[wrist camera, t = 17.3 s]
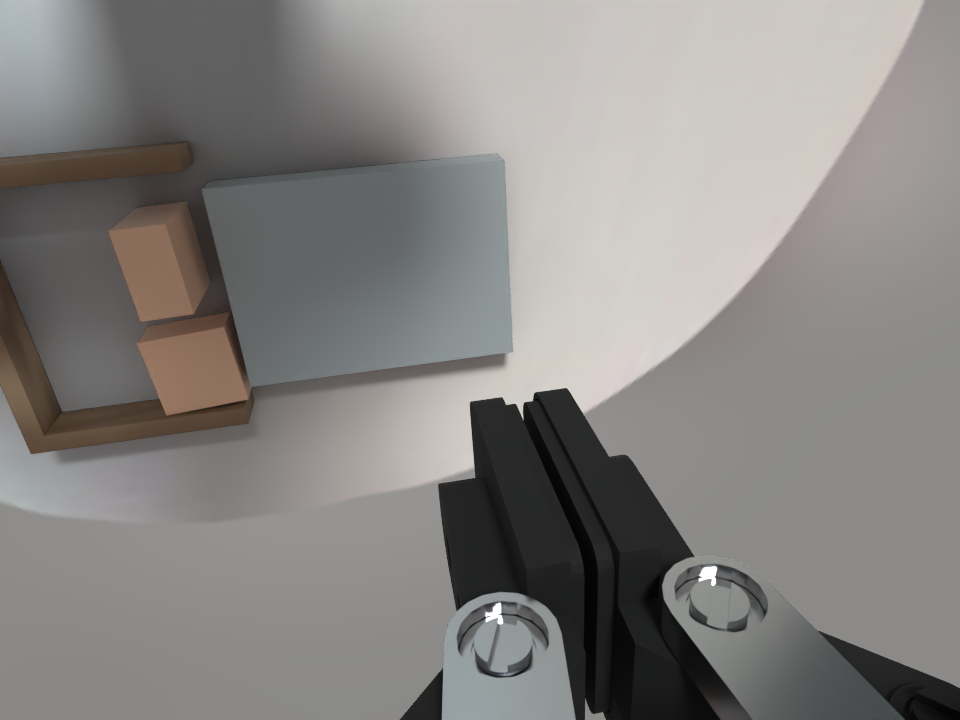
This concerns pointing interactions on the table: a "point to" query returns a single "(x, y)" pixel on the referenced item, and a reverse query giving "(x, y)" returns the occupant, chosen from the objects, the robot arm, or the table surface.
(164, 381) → the tile
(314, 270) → the board
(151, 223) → the tile
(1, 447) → the table surface
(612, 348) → the table surface
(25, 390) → the tray
